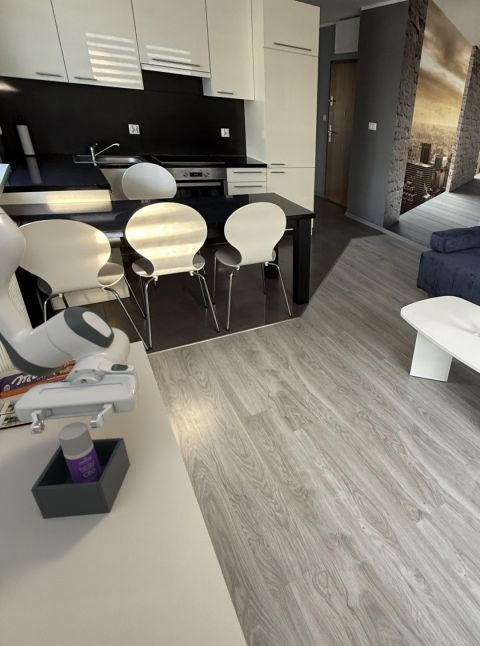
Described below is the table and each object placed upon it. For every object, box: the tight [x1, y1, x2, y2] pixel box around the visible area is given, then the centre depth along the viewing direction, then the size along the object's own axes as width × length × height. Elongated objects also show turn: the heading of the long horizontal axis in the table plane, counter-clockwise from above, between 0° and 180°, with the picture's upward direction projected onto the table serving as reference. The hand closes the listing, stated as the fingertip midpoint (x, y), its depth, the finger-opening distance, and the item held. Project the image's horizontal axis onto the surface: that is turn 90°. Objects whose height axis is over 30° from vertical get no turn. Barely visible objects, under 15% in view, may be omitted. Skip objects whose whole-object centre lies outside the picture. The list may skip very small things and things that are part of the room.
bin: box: [30, 437, 131, 519], centre depth 78 cm, size 11×11×8 cm
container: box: [57, 421, 102, 483], centre depth 76 cm, size 5×5×15 cm
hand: (65, 428), depth 71 cm, fingers open, 8 cm apart
